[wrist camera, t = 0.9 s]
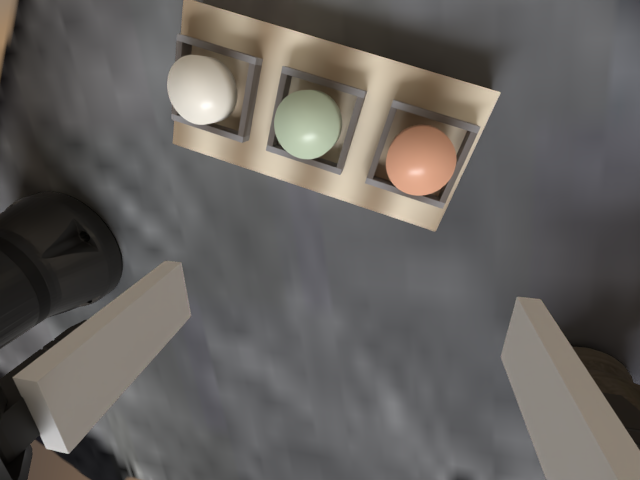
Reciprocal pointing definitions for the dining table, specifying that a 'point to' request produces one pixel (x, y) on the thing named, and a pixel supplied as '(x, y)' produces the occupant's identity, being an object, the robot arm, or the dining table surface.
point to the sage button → (308, 123)
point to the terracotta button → (420, 160)
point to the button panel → (349, 94)
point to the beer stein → (609, 374)
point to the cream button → (202, 89)
